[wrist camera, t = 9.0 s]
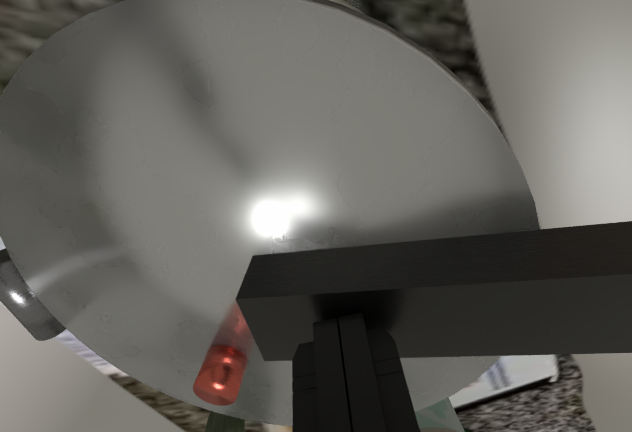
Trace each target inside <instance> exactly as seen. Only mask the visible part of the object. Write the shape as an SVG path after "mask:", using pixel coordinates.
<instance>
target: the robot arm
mask: <svg viewBox="0 0 632 432" xmlns="http://www.w3.org/2000/svg"><path fill="white" fill-rule="evenodd" d="M313 337H314V341H312V342H307V343H302V344H299V345H298V347H297V350H296V352H295V355H294V357H293V359H292V378H293V381H292V392H293V395H292V412H293V432H421V431H420V428H419V426H418V422H417V419H416V415H415V411H414V408H413V404H412V400H411V397H410V393H409V390H408V386H407V382H406V379H405V375H404V372H403V368H402V364H401V361H400V357H399V353H398V350H397V346H396V342H395V340H394V339H393V337H392V336H391V335H390V334H389V333H388V332H387V330H386V329H385V328H384V327H383V328H377V329H372V330H367V331H366V327H365V323H364V318H363V314H362V313H357V314H352V315H347V316H342V317H339V322H338V319H337V318H332V319H327V320H322V321H317V322H313Z"/></svg>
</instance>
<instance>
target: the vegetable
mask: <svg viewBox="0 0 632 432" xmlns="http://www.w3.org/2000/svg"><path fill="white" fill-rule="evenodd" d="M205 432H245V419H240V418H236V417H232V416H228V415H224V414H220V413H216V412H213V411H211V413H210V415H209V418H208V421H207V425H206V429H205Z"/></svg>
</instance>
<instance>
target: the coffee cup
mask: <svg viewBox="0 0 632 432" xmlns="http://www.w3.org/2000/svg"><path fill="white" fill-rule="evenodd" d="M415 415H416V419H417V422H418V426H419V428H420V431H421V432H465V431H464V429H463V427H462V425H461V423H460V421H459V419H458V417H457V415H456V413H455V411H454V409H453V407H452V405H451V402H450V400H449V398H448V397H447V398H445V399H443V400H441V401H439V402H437V403H435V404H433V405H431V406H429V407H426V408H423V409H421V410H418V411H415Z"/></svg>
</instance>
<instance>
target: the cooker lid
mask: <svg viewBox="0 0 632 432" xmlns="http://www.w3.org/2000/svg"><path fill="white" fill-rule="evenodd" d="M0 236H1V238H2V241H3V243H4V245H5V247H6V248H5V249H3V250H0V301H1V302H2V303H3V304H4V305H5V306H6V307H7V308H8V310H9V311H10V312H11V313H12V314H13V315H14V316H15V317H16V318H17V319H18V320H19V321H20V323H21V324H22V325H23V326H24V327H25V328H26V329H27V330H28V331H29V332H30V333H31V335H32V336H33V337H34V338H35V339H36V340H39V341H43V340H48V339H51V338H53V337H55V336H57V335H59V334H60V333H62V332H63V331H64V330H65V329H67V330H68V331H70V332H71V333H72V334H73V335H74V336H75V337H76V338H77V339H78V340H79V341H81V342H82V343H83V344H85V345H86V346H87V347H88V348H90V349H91V350H92V351H94V352H95V353H96V354H97V355H99V356H100V357H102V358H103V359H105V360H106V361H108V362H109V363H111V364H112V365H114V366H115V367H117V368H118V369H120V370H121V371H123V372H125V373H126V374H128V375H130V376H132V377H133V378H135V379H137V380H139V381H140V382H142V383H144V384H146V385H148V386H150V387H152V388H154V389H156V390H158V391H161V392H163V393H165V394H167V395H169V396H172V397H174V398H177V399H179V400H182V401H184V402H187V403H189V404H192V405H195V406H198V407H201V408H204V409H207V410H210V411H213V412H216V413H220V414H224V415H228V416H232V417H236V418H240V419H245V420H250V421H256V422H261V423H268V424H276V425H284V426H293V412H292V395H293V392H292V381H293V378H292V359H293V357H294V355H295V352H296V350H297V347H298V345H299V344H302V343H307V342H312V341H314V337H313V322H317V321H322V320H327V319H332V318H337V319H338V322H339V317H342V316H347V315H352V314H357V313H362V314H363V318H364V323H365V327H366V331H367V330H372V329H377V328H383V327H384V328H385V329H386V330H387V332H388V333H389V334H390V335H391V336H392V337H393V339H394V340H395V342H396V346H397V350H398V353H399V357H400V361H401V364H402V368H403V372H404V375H405V379H406V382H407V386H408V390H409V393H410V397H411V400H412V404H413V408H414V411H418V410H421V409H423V408H426V407H429V406H431V405H433V404H435V403H437V402H439V401H441V400H443V399H445V398H447V397H449V396H451V395H453V394H455V393H457V392H458V391H460V390H461V389H463V388H464V387H466V386H467V385H469V384H470V383H472V382H473V381H475V380H476V379H477V378H478V377H480V376H481V375H482V374H483V373H484V372H485V371H486V370H488V369H489V368H490V367H491V366H492V365H493V364H494V363H495V362H496V361H497V360H498V359H499V358H500V357H501V356H509V355H552V354H593V353H632V221H629V222H618V223H608V224H596V225H585V226H574V227H563V228H552V229H541V230H540V229H539V223H538V218H537V213H536V207H535V202H534V200H533V197H532V194H531V192H530V189H529V186H528V184H527V181H526V179H525V176H524V173H523V171H522V168H521V166H520V164H519V163H518V161H517V159H516V157H515V156H514V154H513V152H512V151H511V149H510V147H509V145H508V144H507V142H506V140H505V139H504V137H503V135H502V134H501V132H500V130H499V129H498V127H497V125H496V124H495V122H494V120H493V119H492V117H491V115H490V114H489V112H488V111H487V110H486V109H485V108H484V106H483V105H482V104H481V103H480V102H479V100H478V99H477V98H476V97H475V96H474V94H473V93H472V92H471V91H470V90H469V89H468V87H467V86H466V85H465V84H464V83H463V81H462V80H461V79H459V78H458V77H457V76H456V75H455V74H454V73H453V72H451V71H450V70H449V69H448V68H447V67H446V66H445V65H443V64H442V63H441V62H440V61H439V60H438V59H437V58H435V57H434V56H433V55H432V54H431V53H430V52H429V51H427V50H426V49H424V48H423V47H421V46H420V45H418V44H416V43H415V42H413V41H412V40H410V39H409V38H407V37H406V36H404V35H402V34H401V33H399V32H398V31H396V30H395V29H393V28H391V27H390V26H388V25H387V24H385V23H382V22H380V21H378V20H376V19H374V18H371V17H369V16H367V15H365V14H363V13H360V12H358V11H356V10H354V9H351V8H349V7H347V6H345V5H343V4H340V3H336V2H333V1H330V0H124V1H122V2H119V3H116V4H114V5H111V6H108V7H106V8H103V9H100V10H97V11H95V12H92V13H89V14H87V15H85V16H83V17H82V18H80V19H78V20H77V21H75V22H73V23H72V24H70V25H69V26H67V27H65V28H64V29H62V30H60V31H59V32H57V33H55V34H54V35H52V36H51V37H50V38H49V39H48V40H47V41H45V42H44V43H43V44H42V45H41V46H40V47H39V48H38V49H37V50H36V51H35V52H34V53H33V54H31V55H30V56H29V57H28V58H27V59H26V60H25V61H24V62H23V64H22V65H21V67H20V68H19V69H18V71H17V72H16V74H15V75H14V77H13V78H12V79H11V81H10V82H9V84H8V85H7V87H6V88H5V90H4V92H3V94H2V97H1V99H0Z"/></svg>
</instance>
